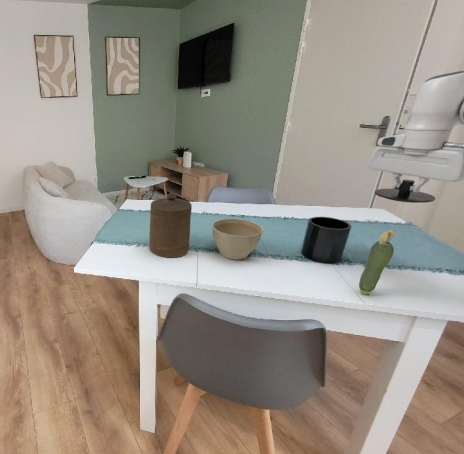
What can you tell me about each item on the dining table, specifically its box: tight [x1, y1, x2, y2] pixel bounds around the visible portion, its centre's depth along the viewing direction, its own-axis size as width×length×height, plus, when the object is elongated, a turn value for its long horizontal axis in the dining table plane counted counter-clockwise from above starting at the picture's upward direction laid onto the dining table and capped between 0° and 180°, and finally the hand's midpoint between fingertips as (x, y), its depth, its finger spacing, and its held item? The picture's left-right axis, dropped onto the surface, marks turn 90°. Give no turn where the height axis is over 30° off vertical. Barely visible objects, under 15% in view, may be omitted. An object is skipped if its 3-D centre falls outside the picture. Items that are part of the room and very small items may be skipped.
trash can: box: [300, 216, 352, 265], centre depth 99 cm, size 11×11×12 cm
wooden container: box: [149, 192, 193, 258], centre depth 108 cm, size 15×15×22 cm
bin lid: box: [374, 179, 436, 204], centre depth 83 cm, size 12×12×5 cm
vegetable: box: [358, 229, 395, 295], centre depth 78 cm, size 4×4×20 cm
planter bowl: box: [211, 218, 264, 261], centre depth 104 cm, size 16×16×11 cm
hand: (405, 190), depth 83 cm, fingers closed on bin lid, 2 cm apart
